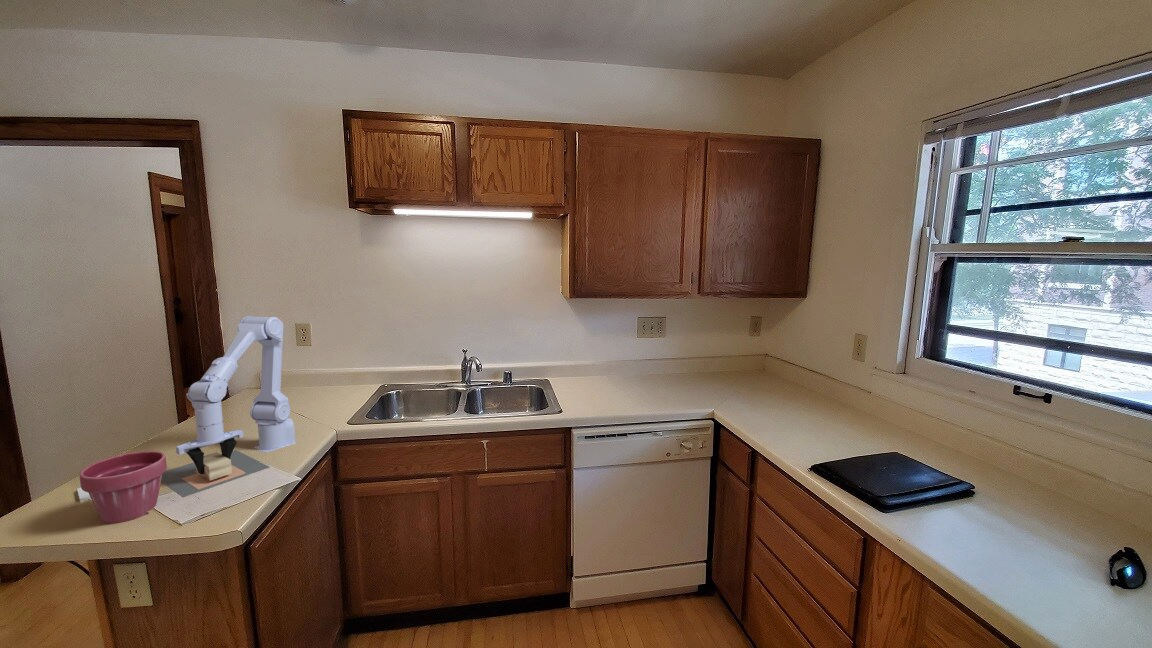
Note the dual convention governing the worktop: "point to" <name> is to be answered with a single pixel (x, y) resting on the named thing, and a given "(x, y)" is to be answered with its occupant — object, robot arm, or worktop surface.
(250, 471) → the mat
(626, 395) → the worktop surface
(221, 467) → the card box
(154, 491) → the plant pot
